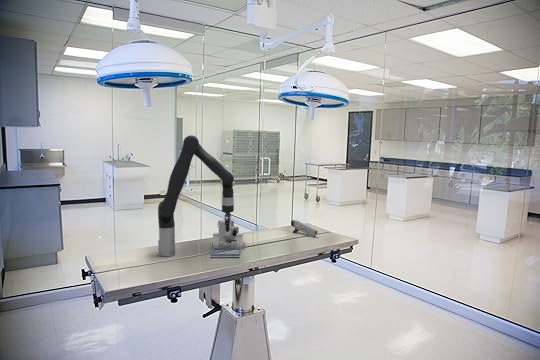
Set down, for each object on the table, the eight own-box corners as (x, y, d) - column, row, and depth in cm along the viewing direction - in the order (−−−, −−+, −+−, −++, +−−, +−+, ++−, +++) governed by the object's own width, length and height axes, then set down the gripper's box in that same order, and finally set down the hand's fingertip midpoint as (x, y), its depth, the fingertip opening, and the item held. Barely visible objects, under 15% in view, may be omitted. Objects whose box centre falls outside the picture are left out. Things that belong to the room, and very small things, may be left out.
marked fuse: (224, 235, 224) (224, 221, 223) (225, 234, 227) (225, 220, 227) (230, 235, 224) (230, 221, 223) (230, 234, 227) (231, 220, 227)
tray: (210, 258, 208) (210, 254, 208) (213, 251, 222) (213, 247, 221) (239, 258, 209) (239, 254, 208) (240, 251, 222) (240, 247, 222)
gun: (290, 230, 277) (293, 218, 274) (315, 243, 260) (318, 230, 257) (288, 230, 275) (291, 218, 272) (313, 243, 258) (316, 231, 255)
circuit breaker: (232, 245, 236) (232, 223, 234) (217, 242, 244) (217, 220, 243) (240, 243, 242) (240, 221, 240) (225, 239, 250) (225, 219, 249)
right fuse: (236, 248, 225) (236, 234, 224) (237, 246, 228) (237, 232, 228) (242, 248, 225) (242, 234, 224) (242, 246, 228) (242, 232, 228)
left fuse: (213, 248, 224) (212, 234, 224) (213, 246, 228) (213, 232, 227) (218, 248, 224) (218, 234, 224) (219, 246, 228) (219, 232, 227)
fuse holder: (209, 251, 222) (209, 243, 221) (212, 247, 231) (211, 240, 230) (244, 251, 222) (244, 243, 222) (245, 247, 231) (245, 240, 231)
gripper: (223, 202, 231) (223, 228, 232) (220, 206, 217) (220, 233, 218) (234, 202, 231) (234, 228, 232) (232, 206, 217) (232, 233, 218)
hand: (227, 230), depth 225 cm, fingers closed on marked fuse, 3 cm apart
